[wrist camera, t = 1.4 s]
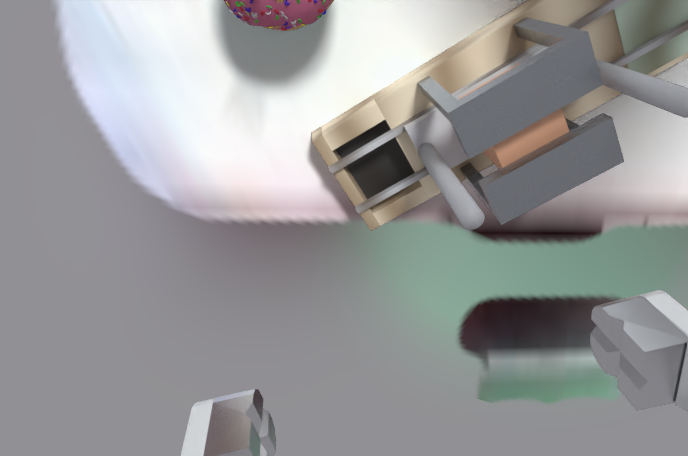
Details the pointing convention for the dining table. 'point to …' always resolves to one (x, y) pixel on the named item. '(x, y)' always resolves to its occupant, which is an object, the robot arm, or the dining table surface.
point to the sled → (521, 132)
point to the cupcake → (278, 12)
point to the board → (470, 68)
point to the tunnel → (533, 121)
